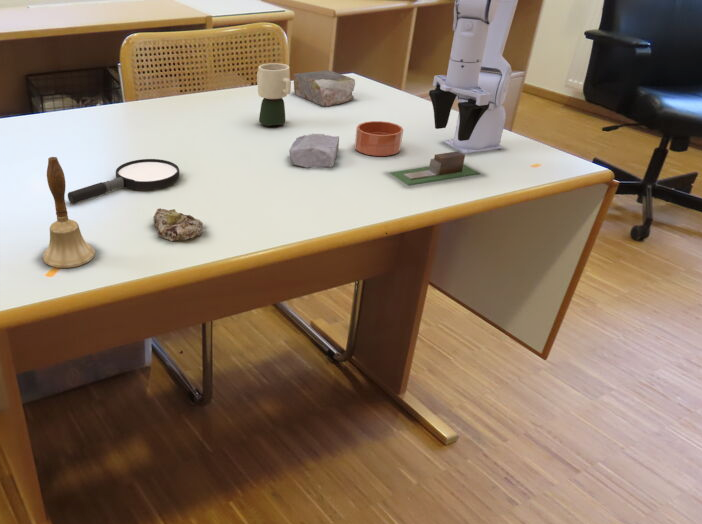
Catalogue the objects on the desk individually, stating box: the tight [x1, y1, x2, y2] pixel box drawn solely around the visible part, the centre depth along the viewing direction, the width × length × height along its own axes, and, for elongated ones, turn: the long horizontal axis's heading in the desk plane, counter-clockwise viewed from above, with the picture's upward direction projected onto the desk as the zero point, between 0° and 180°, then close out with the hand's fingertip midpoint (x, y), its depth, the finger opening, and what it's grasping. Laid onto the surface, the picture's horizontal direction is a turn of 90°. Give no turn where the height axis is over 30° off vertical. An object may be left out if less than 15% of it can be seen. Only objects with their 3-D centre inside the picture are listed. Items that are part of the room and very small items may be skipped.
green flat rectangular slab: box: [389, 163, 481, 187], centre depth 136 cm, size 17×7×1 cm, turn 110°
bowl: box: [354, 120, 404, 157], centre depth 146 cm, size 10×10×5 cm
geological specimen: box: [293, 70, 356, 107], centre depth 180 cm, size 11×6×15 cm
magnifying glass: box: [67, 158, 180, 205], centre depth 132 cm, size 12×24×2 cm, turn 132°
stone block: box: [288, 133, 340, 169], centre depth 144 cm, size 12×5×10 cm
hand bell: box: [42, 156, 96, 269], centre depth 105 cm, size 8×8×16 cm
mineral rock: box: [152, 207, 204, 242], centre depth 116 cm, size 11×4×8 cm
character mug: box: [256, 62, 292, 127], centre depth 159 cm, size 11×7×13 cm, turn 39°
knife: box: [404, 150, 466, 180], centre depth 135 cm, size 12×3×3 cm, turn 110°
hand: (451, 133), depth 133 cm, fingers open, 7 cm apart
